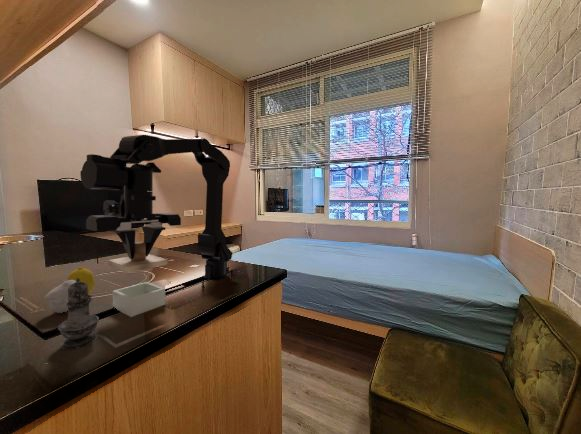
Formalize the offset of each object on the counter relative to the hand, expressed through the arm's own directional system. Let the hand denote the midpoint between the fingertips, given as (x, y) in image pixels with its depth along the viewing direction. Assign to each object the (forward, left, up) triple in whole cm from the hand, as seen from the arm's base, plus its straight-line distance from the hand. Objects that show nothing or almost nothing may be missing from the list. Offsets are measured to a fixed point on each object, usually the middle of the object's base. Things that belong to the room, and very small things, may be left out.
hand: (138, 257), depth 61 cm
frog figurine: (+11, -11, -13) cm, 20 cm away
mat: (-9, -8, -12) cm, 17 cm away
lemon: (+6, -17, -12) cm, 22 cm away
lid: (0, 0, -2) cm, 2 cm away
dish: (0, 0, -12) cm, 12 cm away
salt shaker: (+14, +5, -13) cm, 19 cm away
